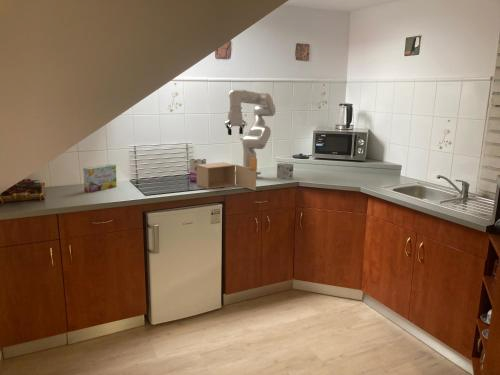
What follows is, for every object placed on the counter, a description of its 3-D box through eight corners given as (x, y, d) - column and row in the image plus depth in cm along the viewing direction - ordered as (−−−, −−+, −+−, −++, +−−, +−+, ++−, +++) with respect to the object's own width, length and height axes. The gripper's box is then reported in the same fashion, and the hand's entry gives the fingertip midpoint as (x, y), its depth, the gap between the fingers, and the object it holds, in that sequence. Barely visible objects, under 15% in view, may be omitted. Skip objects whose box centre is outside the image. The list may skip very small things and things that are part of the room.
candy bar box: (206, 181, 298) (206, 158, 295) (202, 183, 294) (202, 159, 290) (193, 180, 303) (193, 157, 300) (189, 181, 299) (189, 158, 295)
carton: (223, 181, 300) (223, 162, 297) (235, 185, 289) (235, 164, 286) (196, 185, 287) (196, 164, 283) (207, 188, 276) (207, 167, 273)
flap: (235, 184, 289) (235, 154, 284) (237, 184, 290) (237, 154, 285) (254, 190, 272) (255, 158, 268) (256, 190, 273) (257, 158, 268)
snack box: (90, 193, 260) (88, 168, 257) (84, 191, 263) (82, 167, 260) (117, 187, 277) (116, 164, 274) (111, 185, 280) (110, 163, 277)
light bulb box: (293, 178, 316) (293, 164, 314) (289, 179, 311) (289, 165, 309) (280, 176, 322) (281, 162, 320) (276, 177, 316) (276, 163, 314)
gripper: (242, 108, 293) (241, 133, 297) (221, 109, 282) (221, 134, 286) (248, 109, 287) (248, 134, 291) (228, 109, 276) (228, 135, 280)
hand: (235, 134), depth 288 cm, fingers open, 9 cm apart
